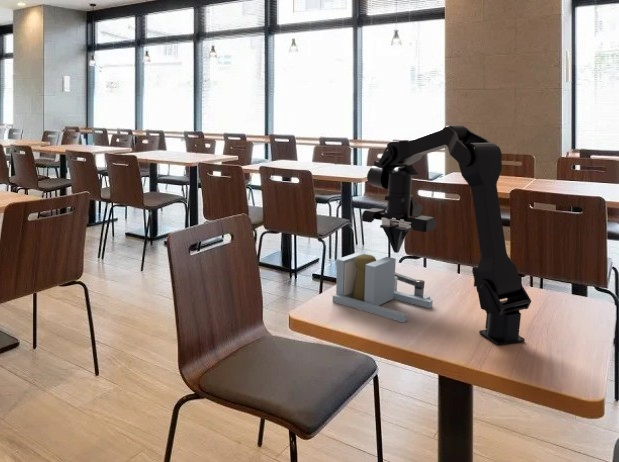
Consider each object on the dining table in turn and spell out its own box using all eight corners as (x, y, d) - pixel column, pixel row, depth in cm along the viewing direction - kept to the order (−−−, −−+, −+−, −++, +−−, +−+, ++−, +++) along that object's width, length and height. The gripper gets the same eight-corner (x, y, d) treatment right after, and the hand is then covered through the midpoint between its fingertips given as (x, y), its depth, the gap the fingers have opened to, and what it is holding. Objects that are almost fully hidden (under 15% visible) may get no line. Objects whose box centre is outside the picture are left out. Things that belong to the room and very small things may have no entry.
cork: (376, 295, 133) (378, 252, 130) (377, 304, 127) (378, 259, 125) (352, 294, 133) (353, 251, 131) (351, 302, 128) (352, 258, 125)
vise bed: (441, 301, 129) (443, 261, 127) (403, 322, 116) (405, 278, 114) (371, 283, 142) (373, 247, 140) (331, 300, 129) (331, 260, 126)
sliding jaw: (393, 298, 130) (395, 258, 128) (373, 308, 123) (374, 266, 121) (384, 295, 132) (386, 256, 130) (363, 305, 125) (364, 264, 123)
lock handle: (426, 288, 130) (426, 280, 129) (419, 290, 129) (420, 282, 128) (388, 275, 140) (389, 267, 139) (382, 277, 139) (382, 269, 138)
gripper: (448, 192, 133) (444, 252, 137) (385, 184, 145) (382, 240, 149) (427, 197, 125) (423, 262, 129) (361, 189, 137) (359, 248, 140)
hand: (396, 252), depth 137 cm, fingers closed
